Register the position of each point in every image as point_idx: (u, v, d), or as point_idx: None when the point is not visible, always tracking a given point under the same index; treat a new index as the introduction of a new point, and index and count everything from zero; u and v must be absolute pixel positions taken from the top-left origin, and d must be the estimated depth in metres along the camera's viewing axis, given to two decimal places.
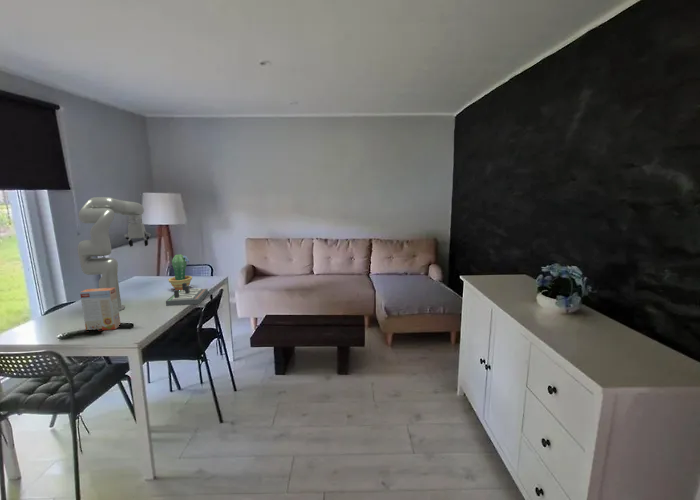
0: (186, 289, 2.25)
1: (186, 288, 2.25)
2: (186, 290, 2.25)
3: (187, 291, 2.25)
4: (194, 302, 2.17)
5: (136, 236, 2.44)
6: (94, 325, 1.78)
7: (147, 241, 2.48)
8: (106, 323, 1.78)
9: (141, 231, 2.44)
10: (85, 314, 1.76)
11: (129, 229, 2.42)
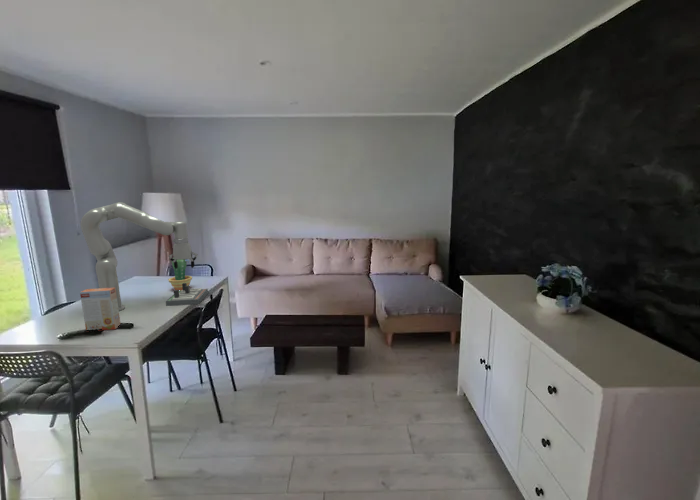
0: (186, 289, 2.25)
1: (186, 288, 2.25)
2: (186, 290, 2.25)
3: (187, 291, 2.25)
4: (194, 302, 2.17)
5: (182, 257, 2.20)
6: (94, 325, 1.78)
7: (193, 262, 2.25)
8: (106, 323, 1.78)
9: (188, 252, 2.20)
10: (85, 314, 1.76)
11: (175, 250, 2.19)
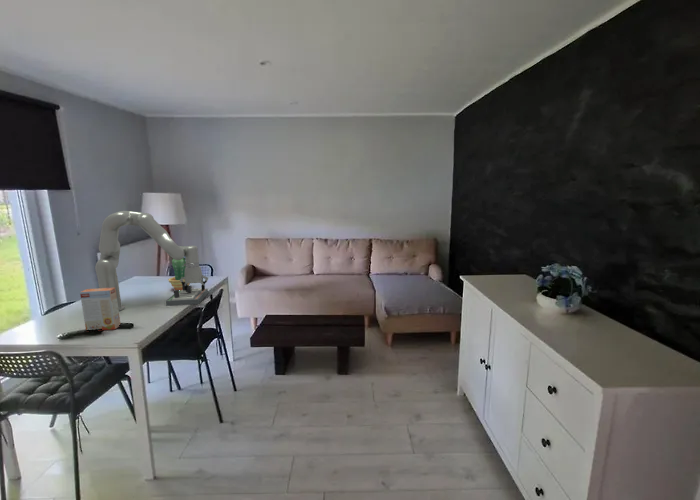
0: (188, 289, 2.25)
1: (188, 288, 2.25)
2: (188, 290, 2.25)
3: (189, 291, 2.25)
4: (194, 302, 2.17)
5: (193, 281, 2.23)
6: (94, 325, 1.78)
7: (204, 285, 2.28)
8: (106, 323, 1.78)
9: (199, 275, 2.23)
10: (85, 314, 1.76)
11: (186, 274, 2.22)
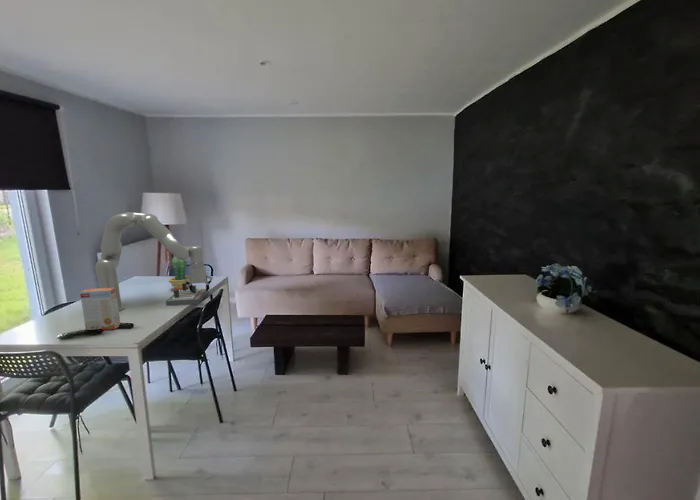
0: (193, 289, 2.25)
1: (193, 288, 2.25)
2: (193, 290, 2.26)
3: (194, 291, 2.26)
4: (194, 302, 2.17)
5: (198, 281, 2.24)
6: (95, 325, 1.78)
7: (208, 285, 2.28)
8: (106, 323, 1.78)
9: (203, 275, 2.24)
10: (86, 314, 1.76)
11: (190, 274, 2.22)
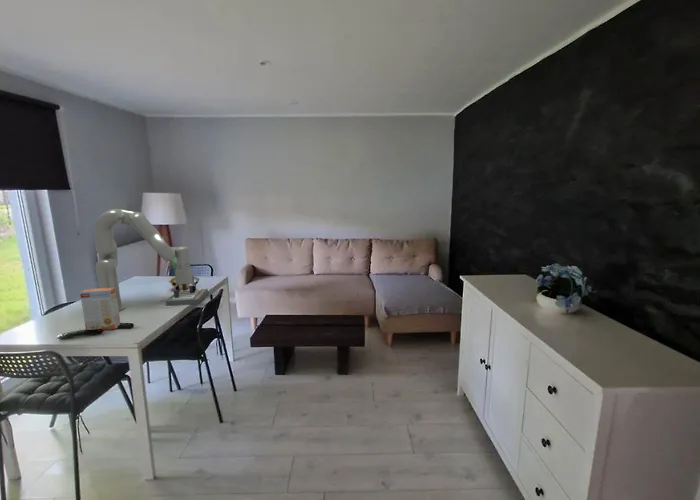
0: (190, 289, 2.25)
1: (190, 288, 2.25)
2: (190, 290, 2.25)
3: (191, 291, 2.26)
4: (194, 302, 2.17)
5: (184, 282, 2.22)
6: (94, 325, 1.78)
7: (195, 286, 2.27)
8: (106, 323, 1.78)
9: (189, 276, 2.23)
10: (85, 314, 1.76)
11: (177, 274, 2.21)
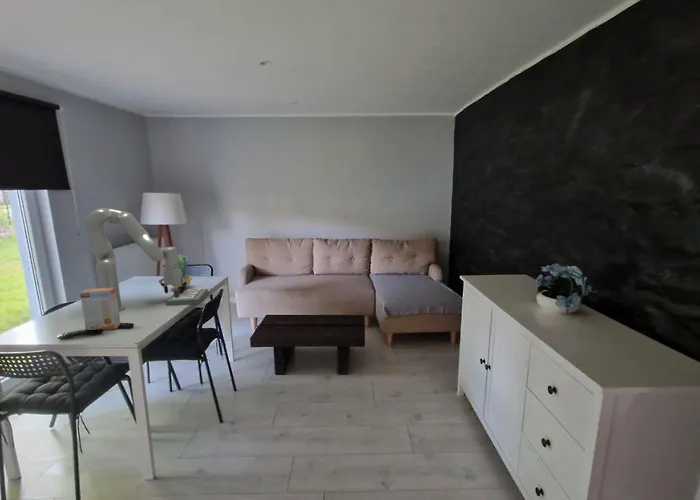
0: (179, 289, 2.24)
1: (179, 288, 2.24)
2: (179, 290, 2.24)
3: (180, 291, 2.25)
4: (194, 302, 2.17)
5: (172, 282, 2.21)
6: (94, 325, 1.78)
7: None
8: (106, 323, 1.78)
9: (178, 277, 2.21)
10: (85, 314, 1.76)
11: (165, 275, 2.20)
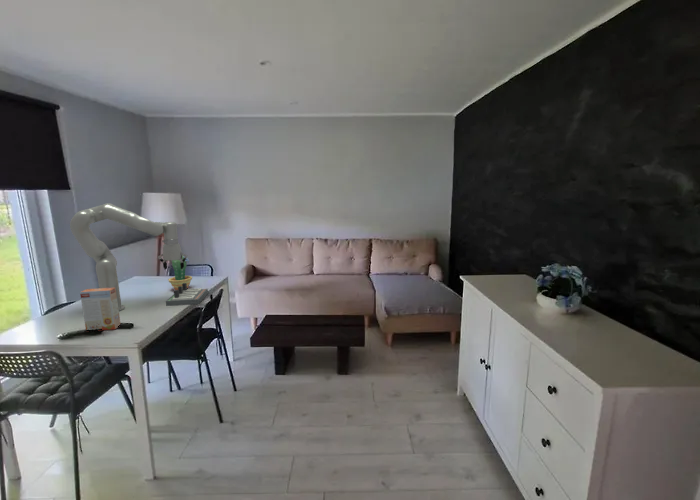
0: (179, 289, 2.24)
1: (179, 288, 2.24)
2: (179, 290, 2.24)
3: (180, 291, 2.25)
4: (194, 302, 2.17)
5: (172, 258, 2.18)
6: (95, 325, 1.78)
7: (183, 263, 2.23)
8: (106, 323, 1.78)
9: (177, 252, 2.19)
10: (86, 314, 1.76)
11: (164, 250, 2.17)
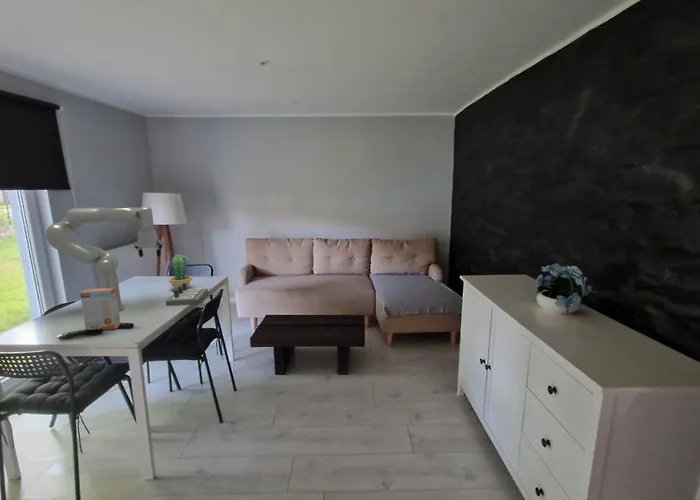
0: (179, 289, 2.24)
1: (179, 288, 2.24)
2: (179, 290, 2.24)
3: (180, 291, 2.25)
4: (194, 302, 2.17)
5: (147, 245, 2.09)
6: (94, 325, 1.78)
7: (160, 251, 2.13)
8: (106, 323, 1.78)
9: (153, 239, 2.09)
10: (85, 314, 1.76)
11: (139, 237, 2.08)
